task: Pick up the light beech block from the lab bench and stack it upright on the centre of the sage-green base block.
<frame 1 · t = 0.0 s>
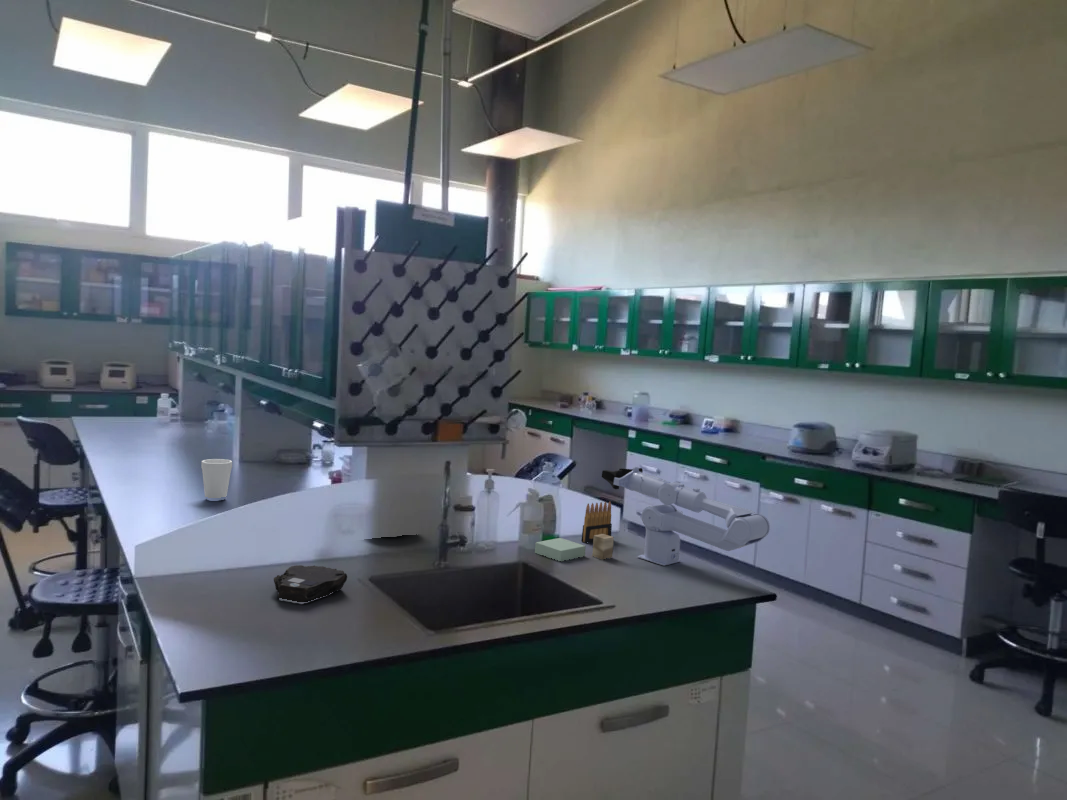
hand: (611, 472, 229), 22 cm above the counter, tool horizontal, fingers open, 7 cm apart
beech block: (602, 557, 216), on the counter
foam cup: (215, 500, 256), on the counter
ammunition clip: (596, 541, 233), on the counter
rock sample: (309, 594, 172), on the counter
sage base block: (559, 554, 215), on the counter
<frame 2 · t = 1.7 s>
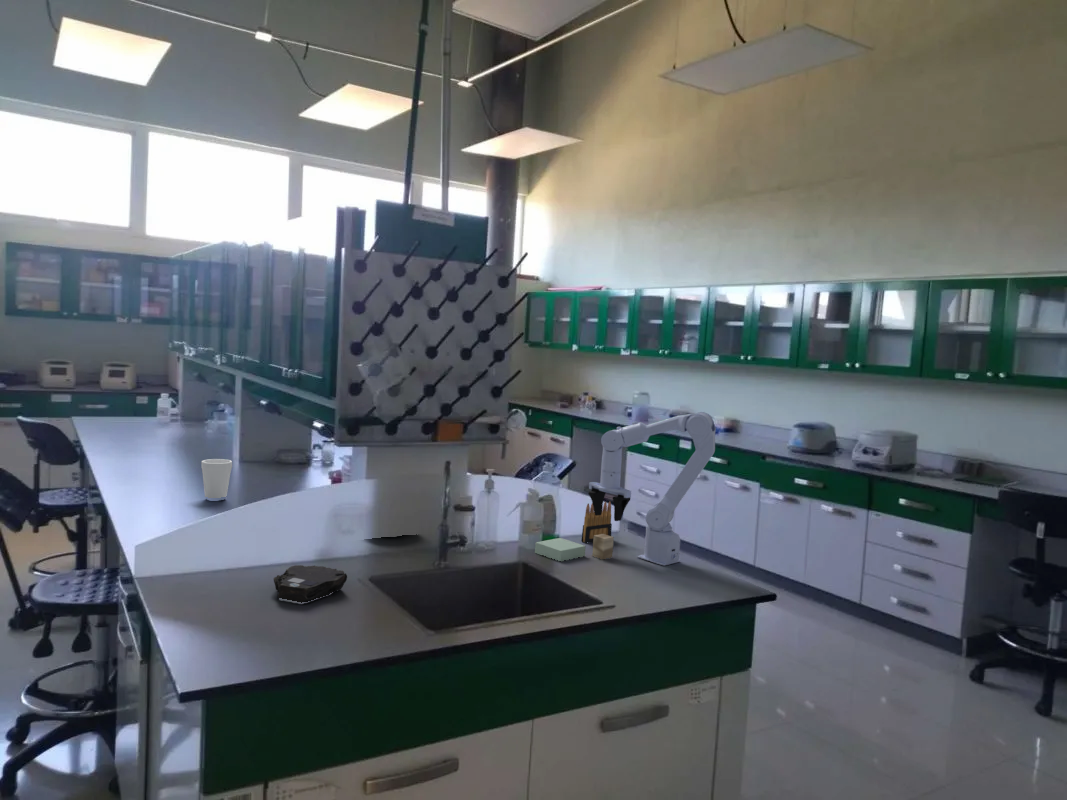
hand: (607, 517, 221), 10 cm above the counter, tool pointing down, fingers open, 7 cm apart
nothing on the counter moved.
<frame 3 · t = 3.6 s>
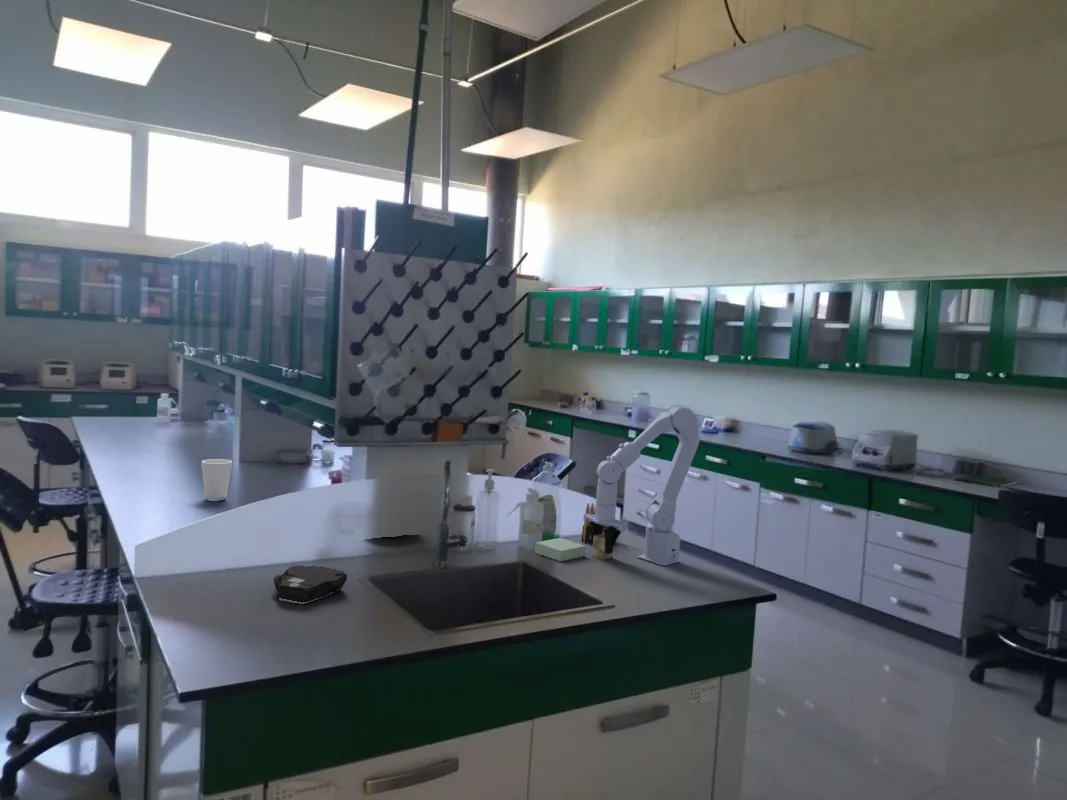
hand: (602, 550, 216), 2 cm above the counter, tool pointing down, fingers closed on beech block, 4 cm apart
beech block: (602, 556, 216), on the counter, touching gripper
everything else where it was.
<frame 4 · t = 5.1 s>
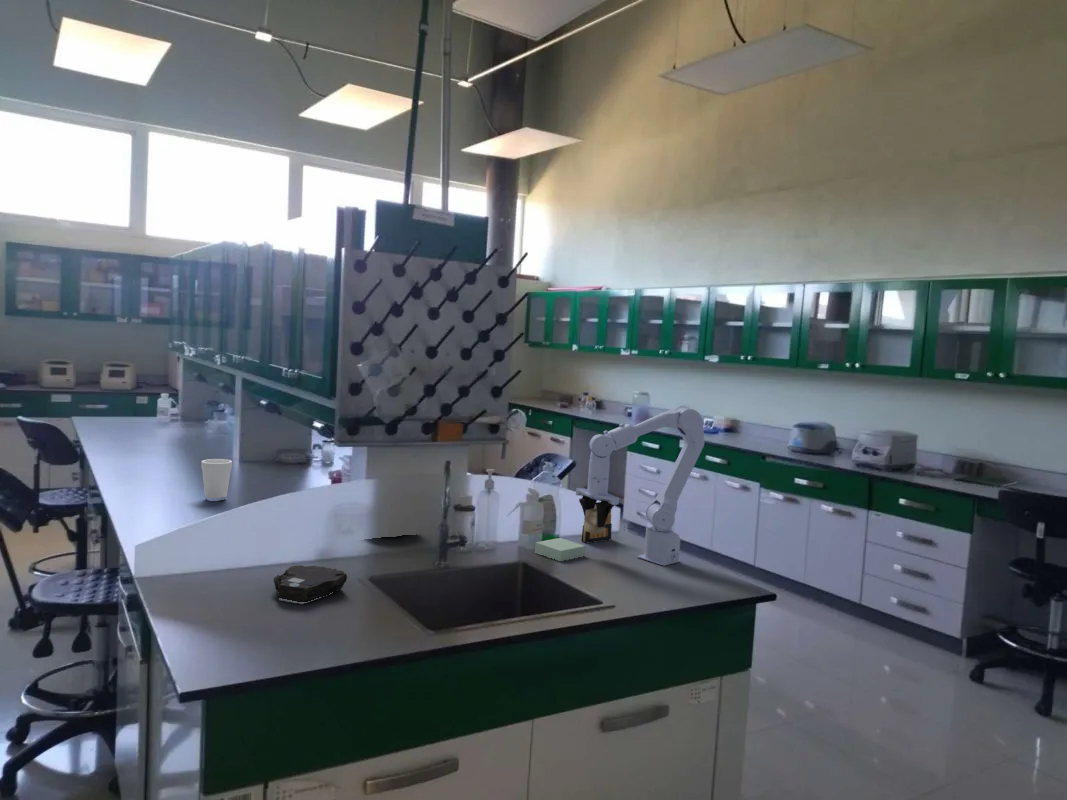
hand: (594, 525, 215), 9 cm above the counter, tool pointing down, fingers closed on beech block, 4 cm apart
beech block: (594, 531, 215), point 7 cm above the counter, touching gripper
everything else where it was.
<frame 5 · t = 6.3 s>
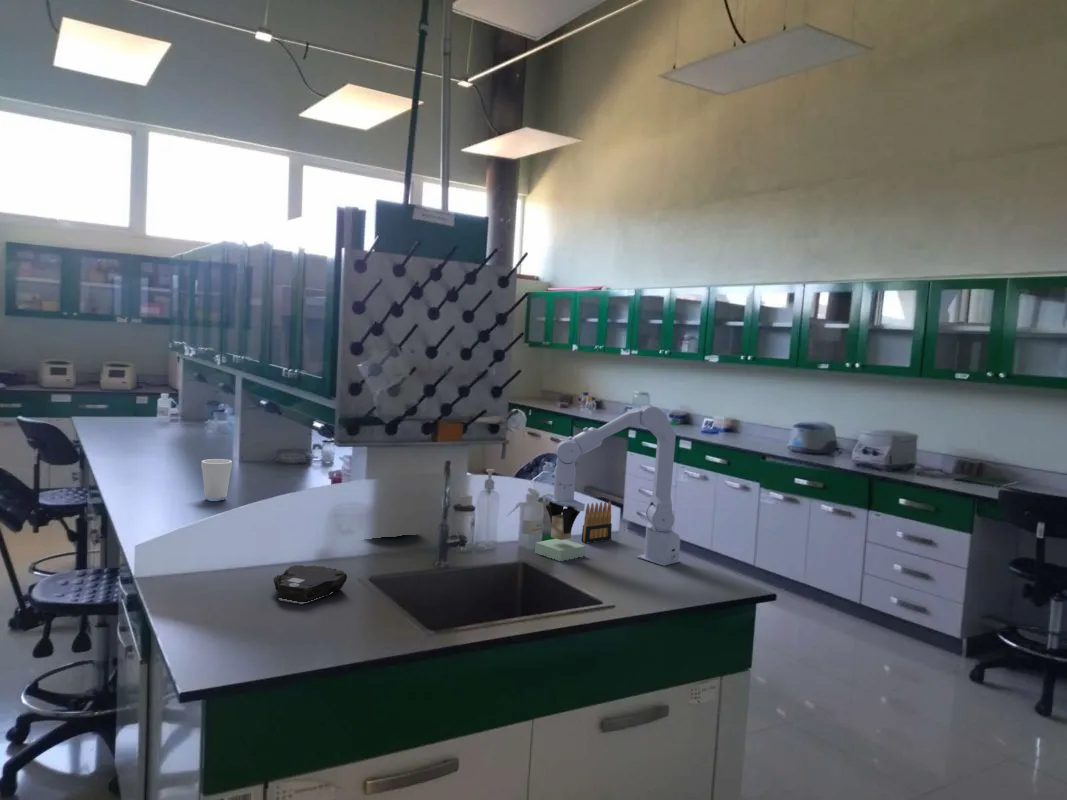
hand: (561, 531, 215), 7 cm above the counter, tool pointing down, fingers closed on beech block, 4 cm apart
beech block: (560, 537, 215), point 5 cm above the counter, touching gripper
everything else where it was.
when the fingers open (6 cm above the counter, at t = 6.9 s): beech block stays where it is, resting on sage base block.
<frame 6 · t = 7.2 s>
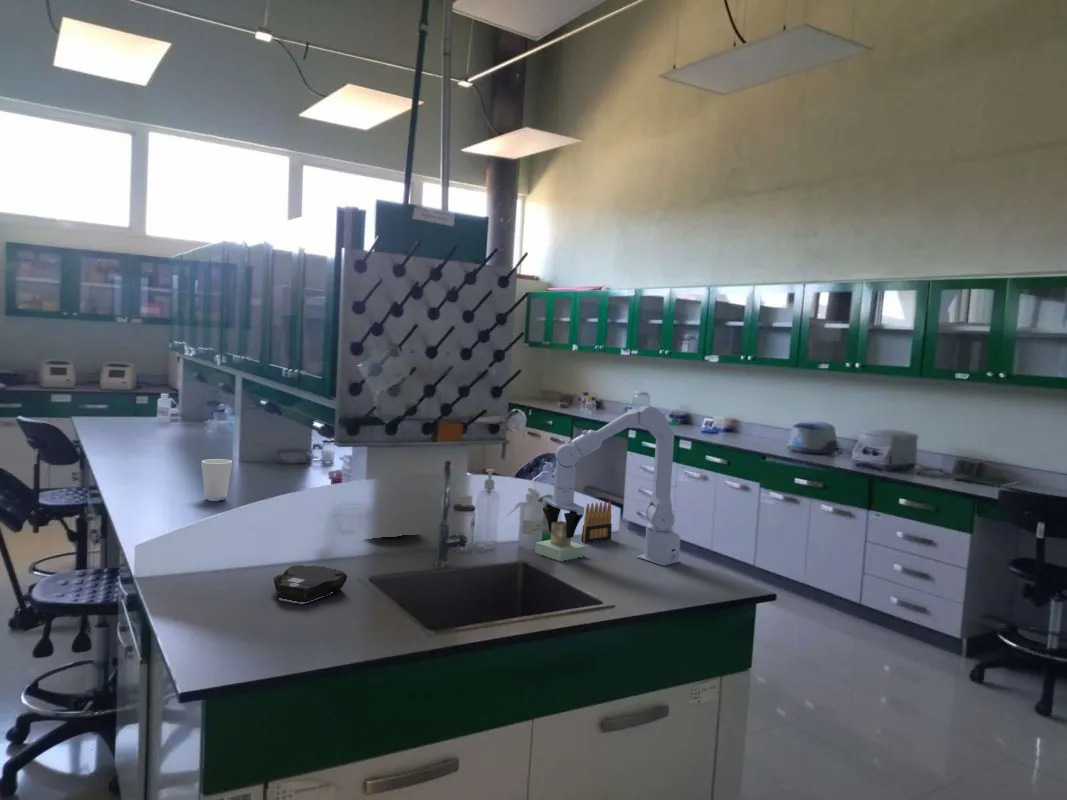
hand: (561, 534, 215), 6 cm above the counter, tool pointing down, fingers open, 6 cm apart
beech block: (560, 544, 215), point 3 cm above the counter, touching sage base block
everything else where it was.
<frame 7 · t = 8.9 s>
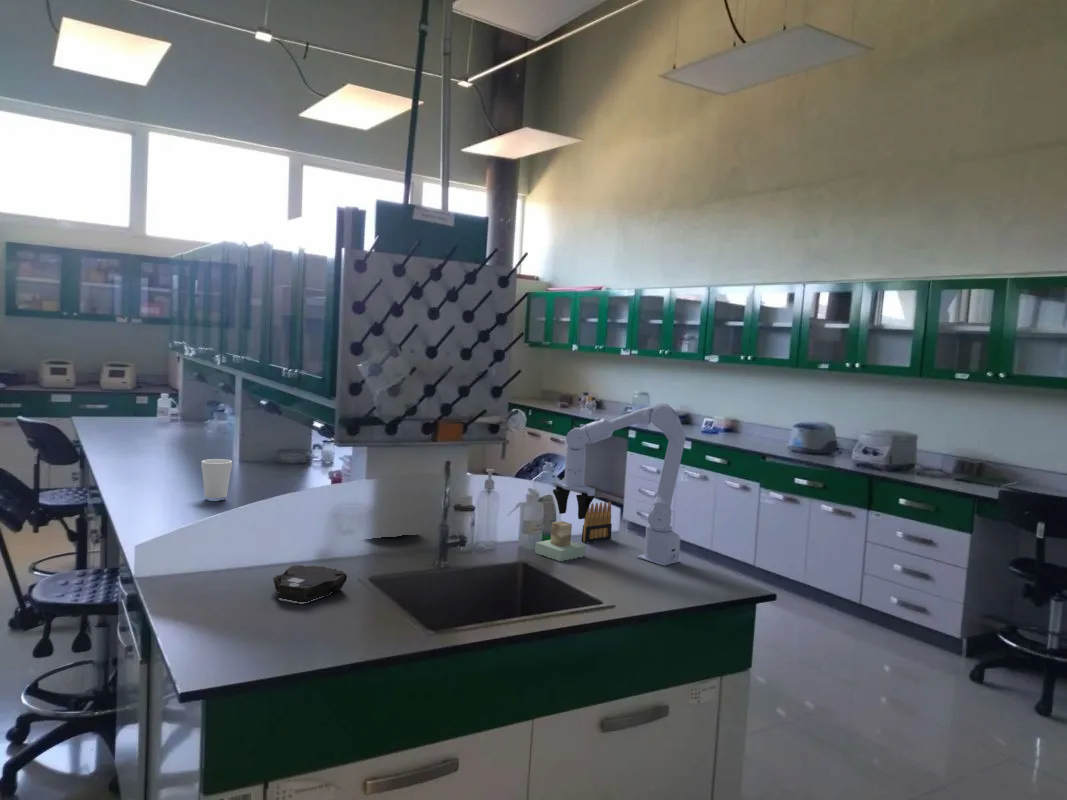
hand: (571, 516, 221), 10 cm above the counter, tool pointing down, fingers open, 7 cm apart
nothing on the counter moved.
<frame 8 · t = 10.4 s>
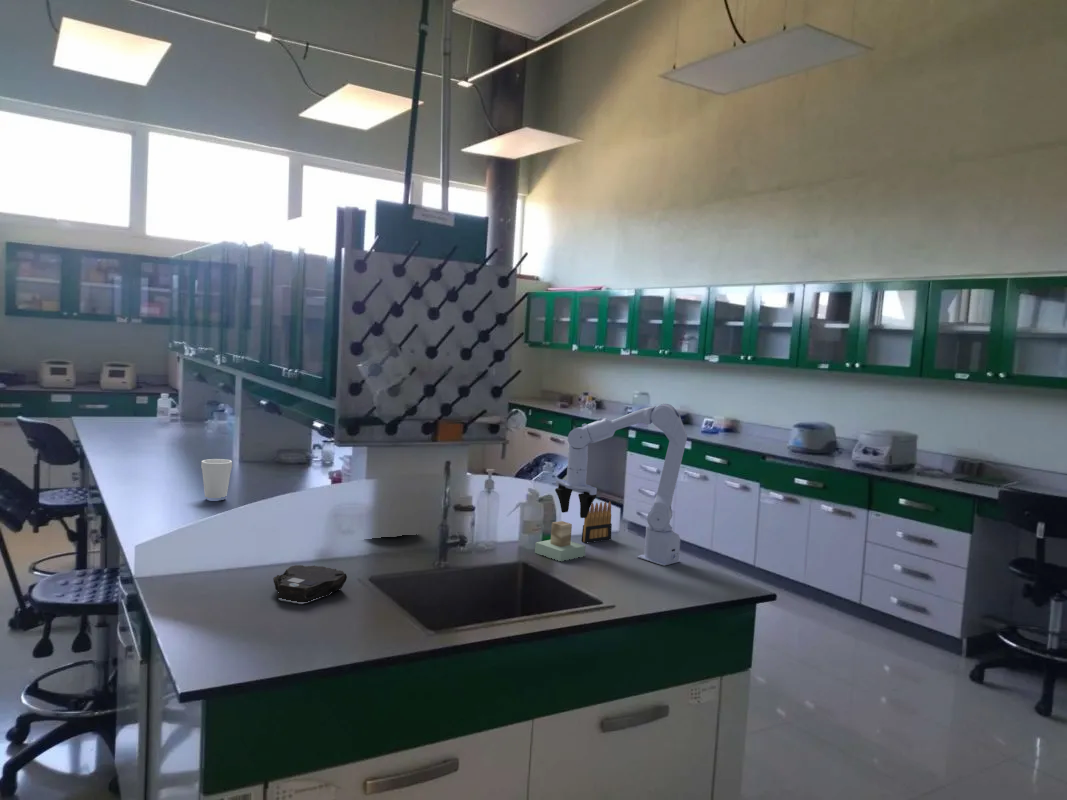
hand: (574, 514, 222), 10 cm above the counter, tool pointing down, fingers open, 7 cm apart
nothing on the counter moved.
at the end: beech block 0.1 cm off-centre on the sage base block, point 3.0 cm above the sage base block's base; beech block tilted 0°; beech block touching sage base block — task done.
